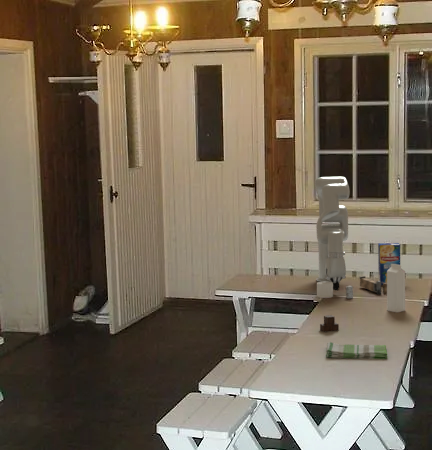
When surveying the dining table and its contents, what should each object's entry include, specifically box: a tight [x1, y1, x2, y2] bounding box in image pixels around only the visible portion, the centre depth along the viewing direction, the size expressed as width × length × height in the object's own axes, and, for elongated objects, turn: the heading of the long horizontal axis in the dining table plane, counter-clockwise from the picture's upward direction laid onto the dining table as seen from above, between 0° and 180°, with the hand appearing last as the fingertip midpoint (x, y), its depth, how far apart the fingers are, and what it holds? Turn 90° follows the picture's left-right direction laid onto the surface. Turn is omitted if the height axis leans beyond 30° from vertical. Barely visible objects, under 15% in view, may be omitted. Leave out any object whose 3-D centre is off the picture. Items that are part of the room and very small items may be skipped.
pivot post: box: [375, 280, 382, 295], centre depth 433 cm, size 2×2×6 cm
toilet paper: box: [316, 281, 334, 299], centre depth 433 cm, size 8×11×7 cm
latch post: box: [345, 285, 354, 300], centre depth 425 cm, size 2×2×6 cm
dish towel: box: [325, 341, 388, 360], centre depth 324 cm, size 17×23×4 cm
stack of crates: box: [319, 314, 340, 333], centre depth 359 cm, size 15×15×7 cm
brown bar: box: [358, 275, 376, 293], centre depth 443 cm, size 17×3×5 cm, turn 17°
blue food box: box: [377, 242, 401, 286], centre depth 459 cm, size 7×11×22 cm, turn 87°
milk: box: [386, 264, 406, 313], centre depth 393 cm, size 6×6×22 cm
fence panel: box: [382, 283, 387, 295], centre depth 436 cm, size 3×10×6 cm, turn 107°
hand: (335, 290), depth 435 cm, fingers closed
